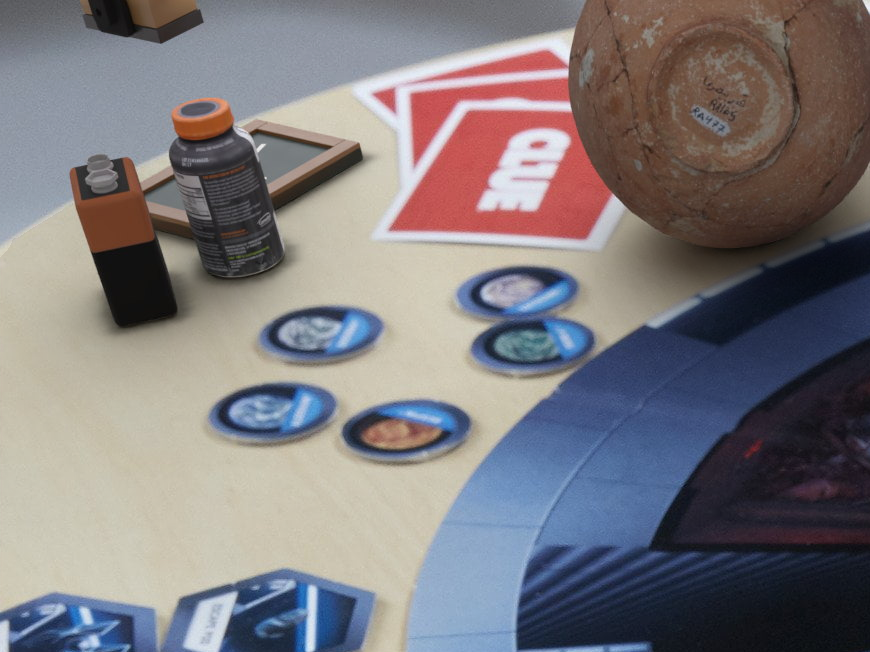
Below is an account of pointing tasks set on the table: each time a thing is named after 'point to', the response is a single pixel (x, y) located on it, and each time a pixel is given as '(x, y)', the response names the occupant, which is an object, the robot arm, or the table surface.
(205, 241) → the pill bottle
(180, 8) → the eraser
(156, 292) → the battery
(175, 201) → the board
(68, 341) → the table surface
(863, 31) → the jug
